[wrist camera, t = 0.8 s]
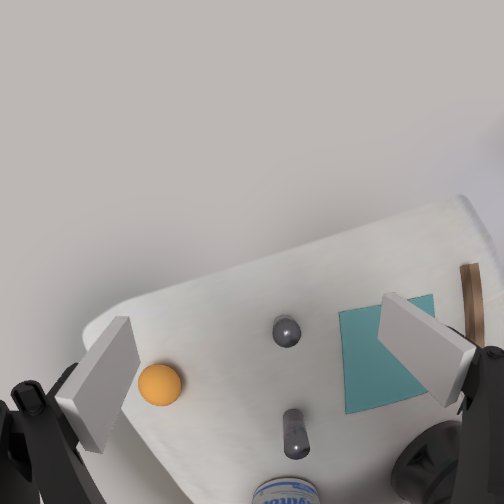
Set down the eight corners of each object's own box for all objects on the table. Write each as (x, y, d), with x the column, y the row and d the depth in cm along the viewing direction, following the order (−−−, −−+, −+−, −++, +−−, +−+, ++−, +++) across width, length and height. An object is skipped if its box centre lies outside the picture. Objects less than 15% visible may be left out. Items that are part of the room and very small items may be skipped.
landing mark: (435, 388, 30) (436, 389, 30) (345, 413, 31) (346, 414, 31) (432, 294, 33) (432, 294, 33) (339, 312, 34) (339, 312, 33)
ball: (189, 399, 33) (176, 413, 28) (152, 397, 34) (134, 410, 28) (183, 360, 34) (168, 369, 29) (146, 360, 34) (127, 368, 29)
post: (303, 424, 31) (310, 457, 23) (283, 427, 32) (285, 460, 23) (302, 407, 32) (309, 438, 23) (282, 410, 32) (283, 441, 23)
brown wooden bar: (473, 390, 29) (481, 393, 27) (464, 394, 29) (472, 398, 27) (468, 264, 33) (478, 262, 30) (459, 266, 33) (469, 264, 30)
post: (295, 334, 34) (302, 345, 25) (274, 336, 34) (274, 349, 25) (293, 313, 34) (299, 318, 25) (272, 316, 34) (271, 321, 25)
